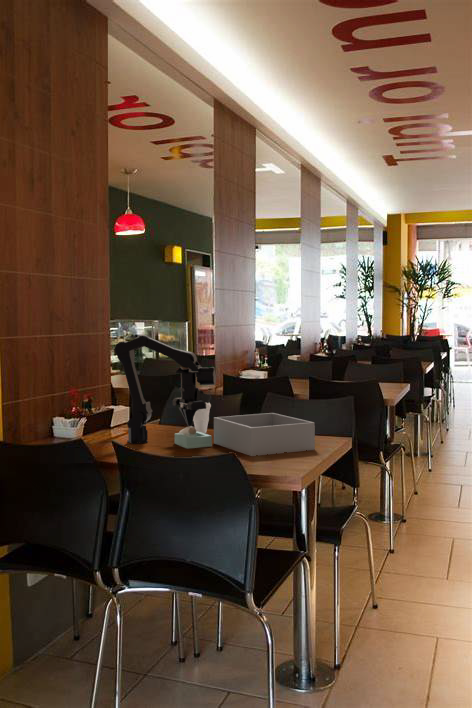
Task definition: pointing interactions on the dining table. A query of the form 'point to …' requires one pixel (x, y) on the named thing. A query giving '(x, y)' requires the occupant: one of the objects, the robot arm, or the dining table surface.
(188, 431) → the bottle
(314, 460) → the dining table surface
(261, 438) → the frame
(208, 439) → the teal rectangular tray
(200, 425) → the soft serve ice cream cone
